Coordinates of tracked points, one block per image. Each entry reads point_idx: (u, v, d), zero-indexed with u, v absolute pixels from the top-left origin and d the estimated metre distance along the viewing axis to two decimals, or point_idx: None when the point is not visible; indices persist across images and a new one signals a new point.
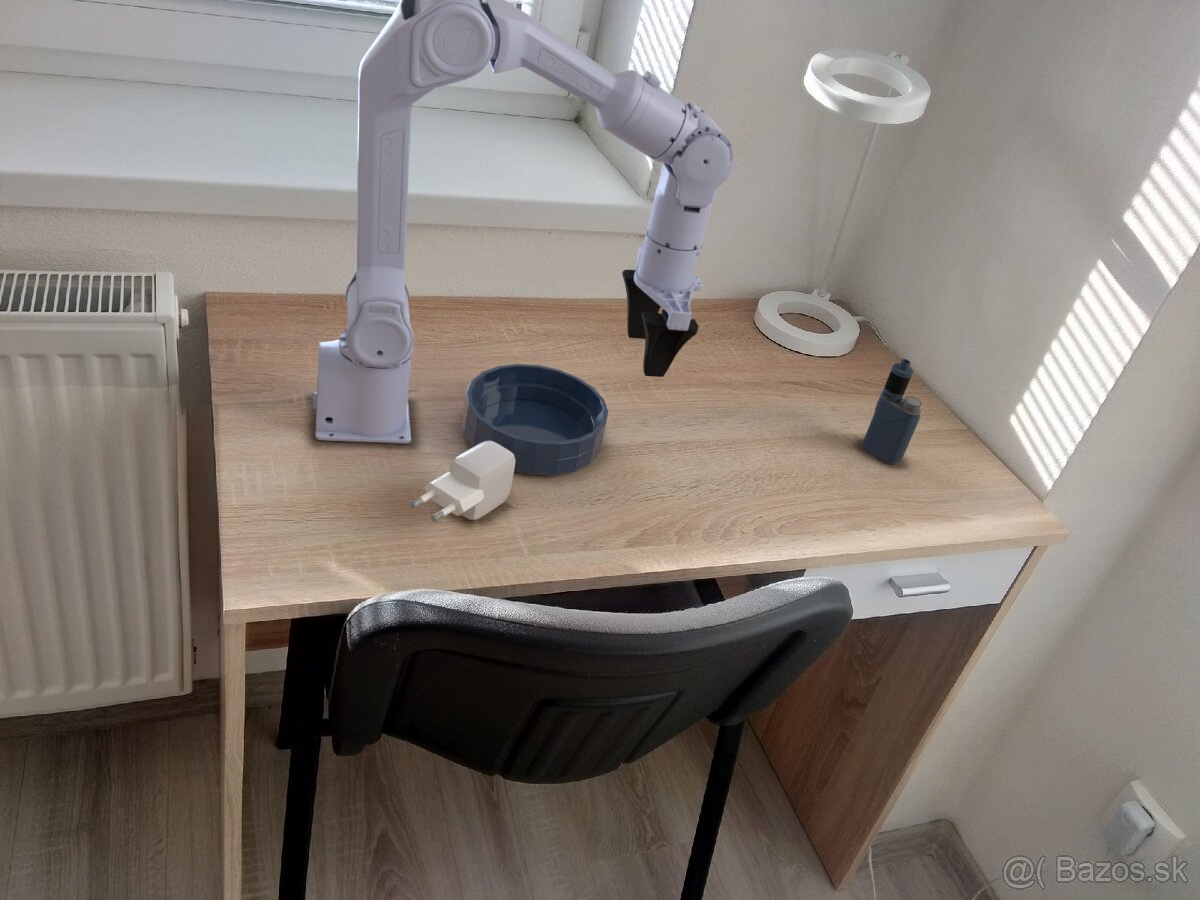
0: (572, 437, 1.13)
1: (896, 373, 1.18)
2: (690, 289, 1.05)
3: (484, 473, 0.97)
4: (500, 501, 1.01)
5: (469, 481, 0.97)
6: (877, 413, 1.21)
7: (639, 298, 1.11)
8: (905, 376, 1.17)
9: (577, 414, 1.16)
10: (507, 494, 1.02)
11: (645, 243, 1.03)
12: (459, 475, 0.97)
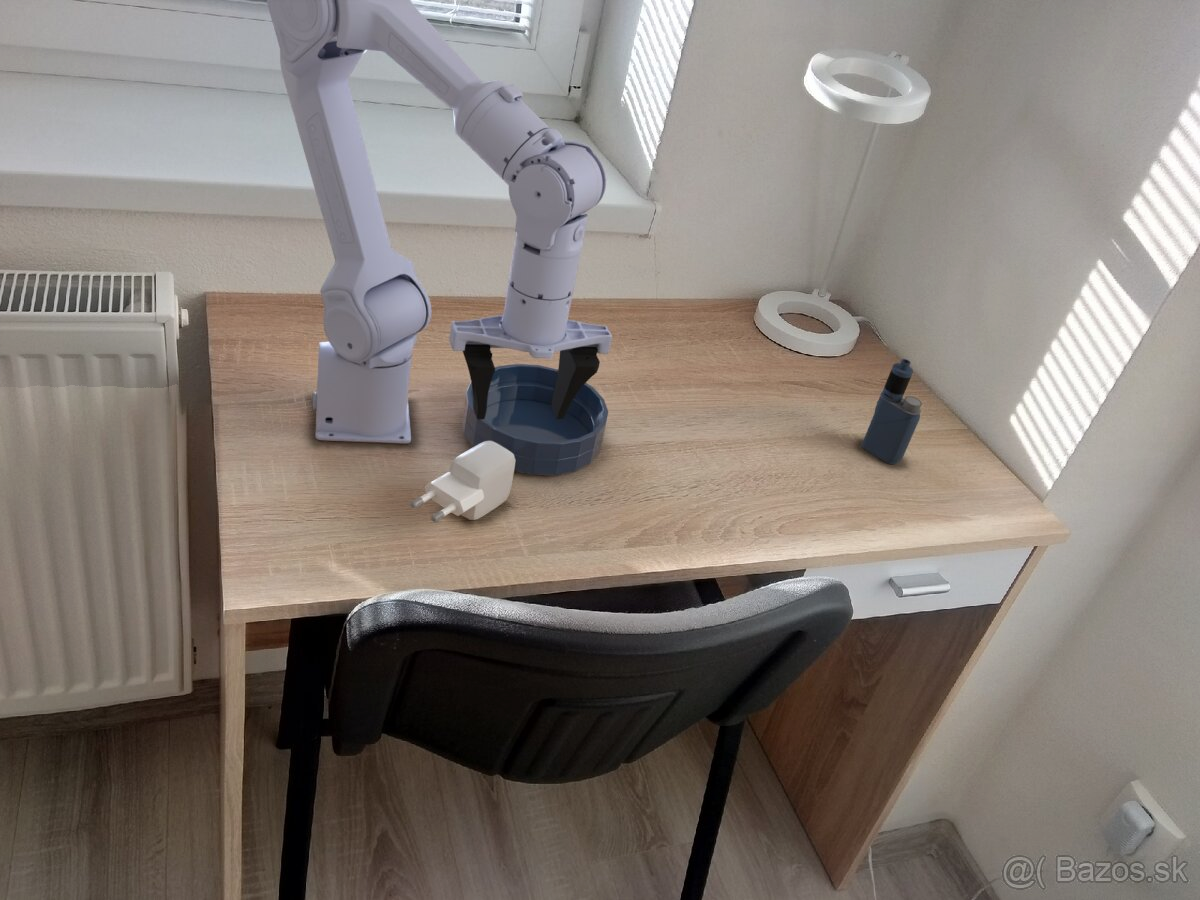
0: (572, 437, 1.13)
1: (896, 373, 1.18)
2: (516, 341, 0.91)
3: (484, 473, 0.97)
4: (500, 501, 1.01)
5: (469, 481, 0.97)
6: (877, 413, 1.21)
7: (562, 366, 0.98)
8: (905, 376, 1.17)
9: (577, 414, 1.16)
10: (507, 494, 1.02)
11: None
12: (459, 475, 0.97)
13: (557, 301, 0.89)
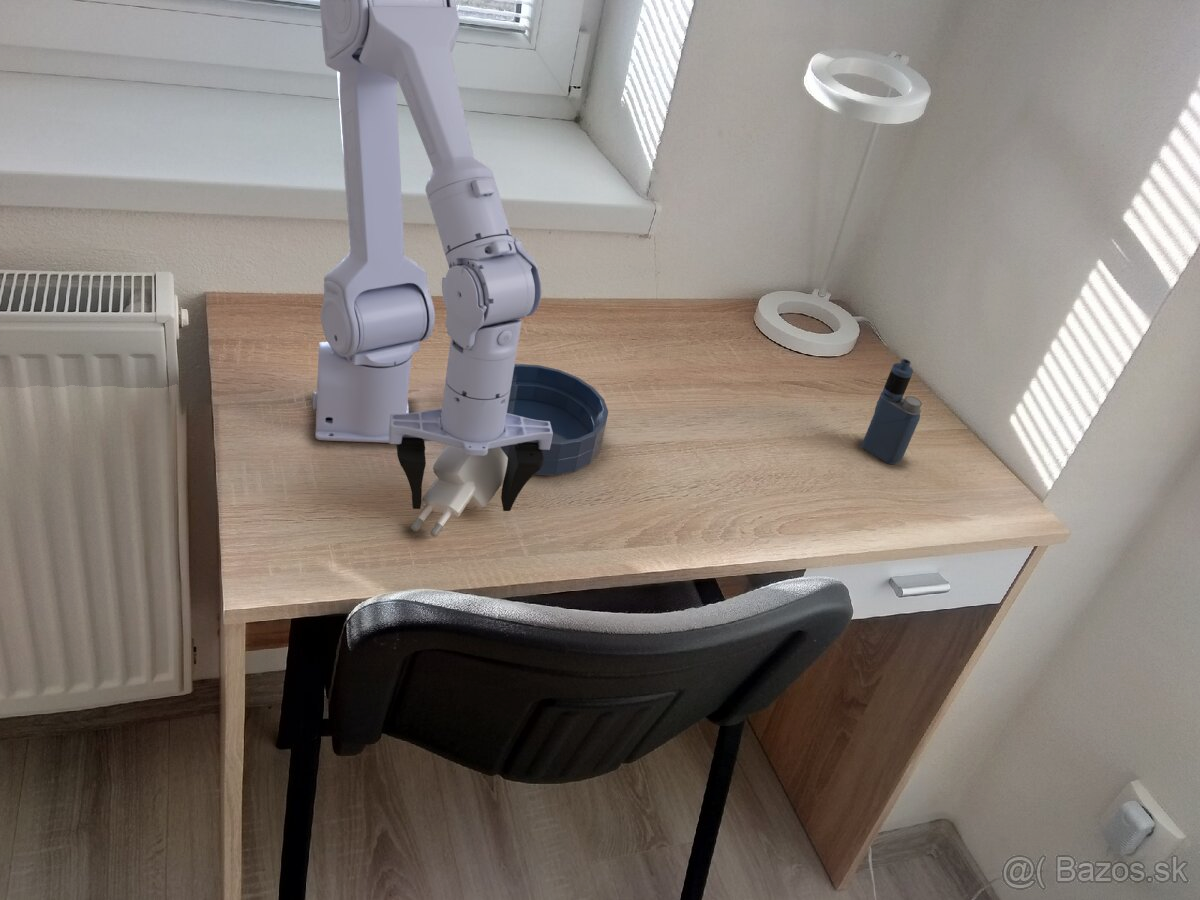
0: (572, 437, 1.13)
1: (896, 373, 1.18)
2: (451, 437, 0.91)
3: (459, 467, 0.96)
4: (503, 475, 1.00)
5: (453, 480, 0.96)
6: (877, 413, 1.21)
7: (510, 459, 0.98)
8: (905, 376, 1.17)
9: (577, 414, 1.16)
10: None
11: None
12: (443, 478, 0.97)
13: (490, 400, 0.89)
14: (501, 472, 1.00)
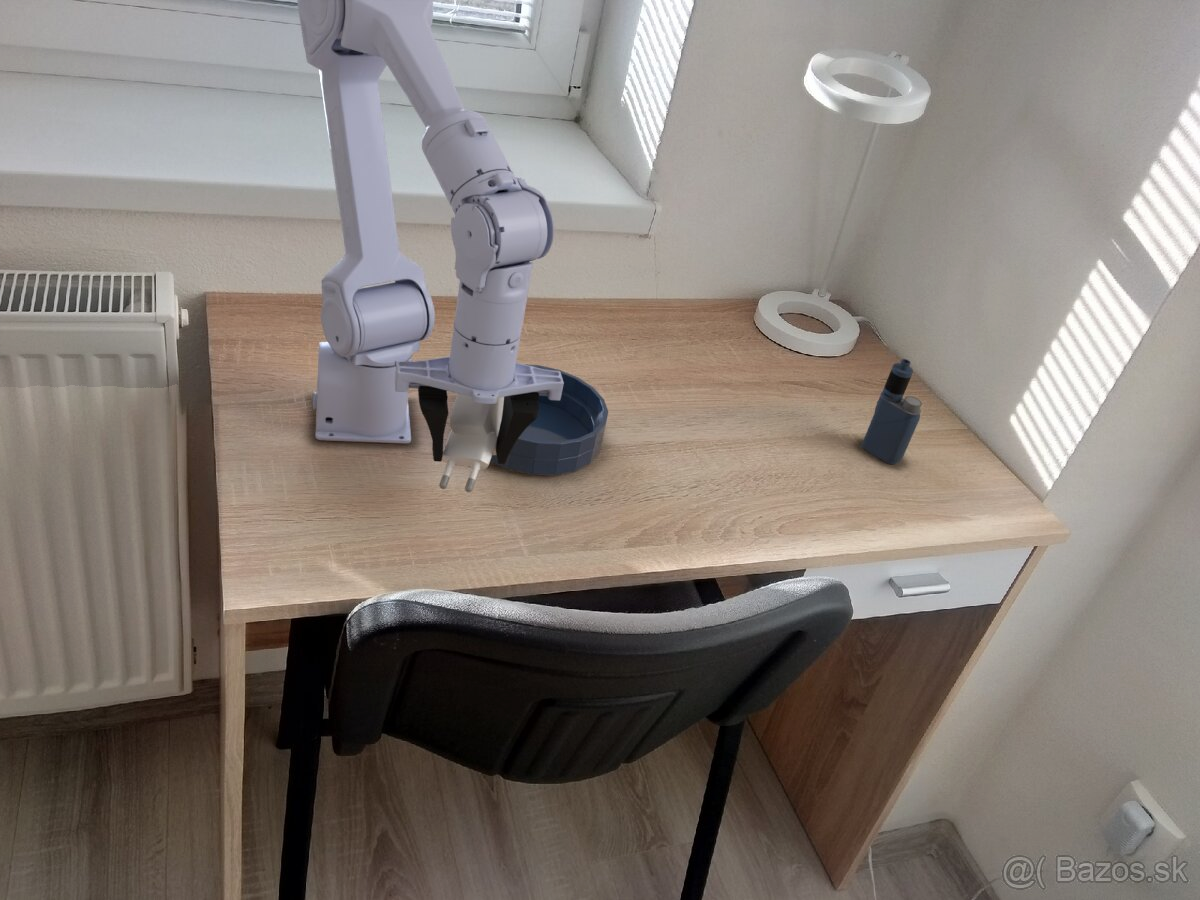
0: (572, 437, 1.13)
1: (896, 373, 1.18)
2: (459, 384, 0.89)
3: (483, 419, 0.95)
4: None
5: (475, 432, 0.95)
6: (877, 413, 1.21)
7: (505, 410, 0.95)
8: (905, 376, 1.17)
9: (577, 414, 1.16)
10: None
11: None
12: (463, 431, 0.96)
13: (500, 346, 0.87)
14: None
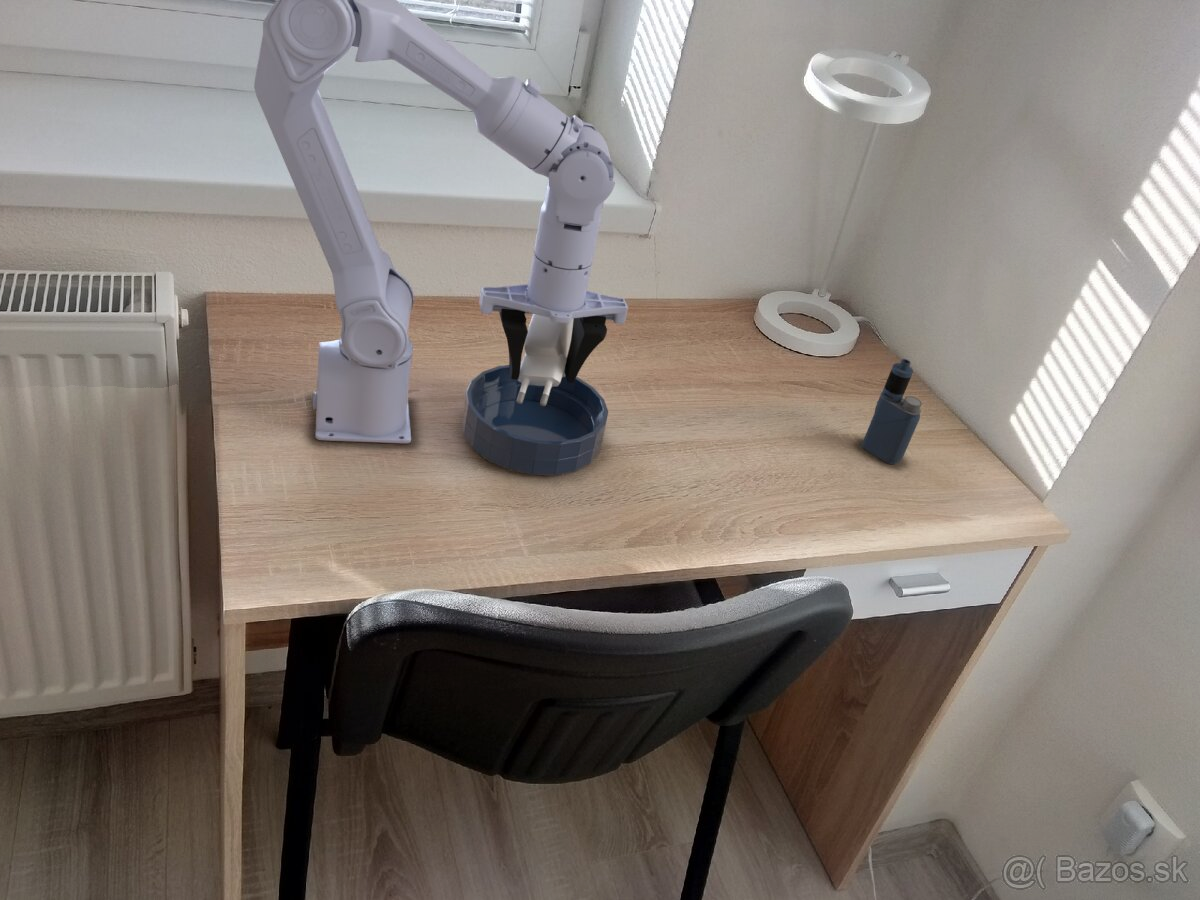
0: (572, 437, 1.13)
1: (896, 373, 1.18)
2: (538, 306, 1.00)
3: (555, 341, 1.06)
4: None
5: (548, 354, 1.07)
6: (877, 413, 1.21)
7: (574, 333, 1.07)
8: (905, 376, 1.17)
9: (577, 414, 1.16)
10: None
11: None
12: (536, 353, 1.07)
13: (576, 271, 0.98)
14: None
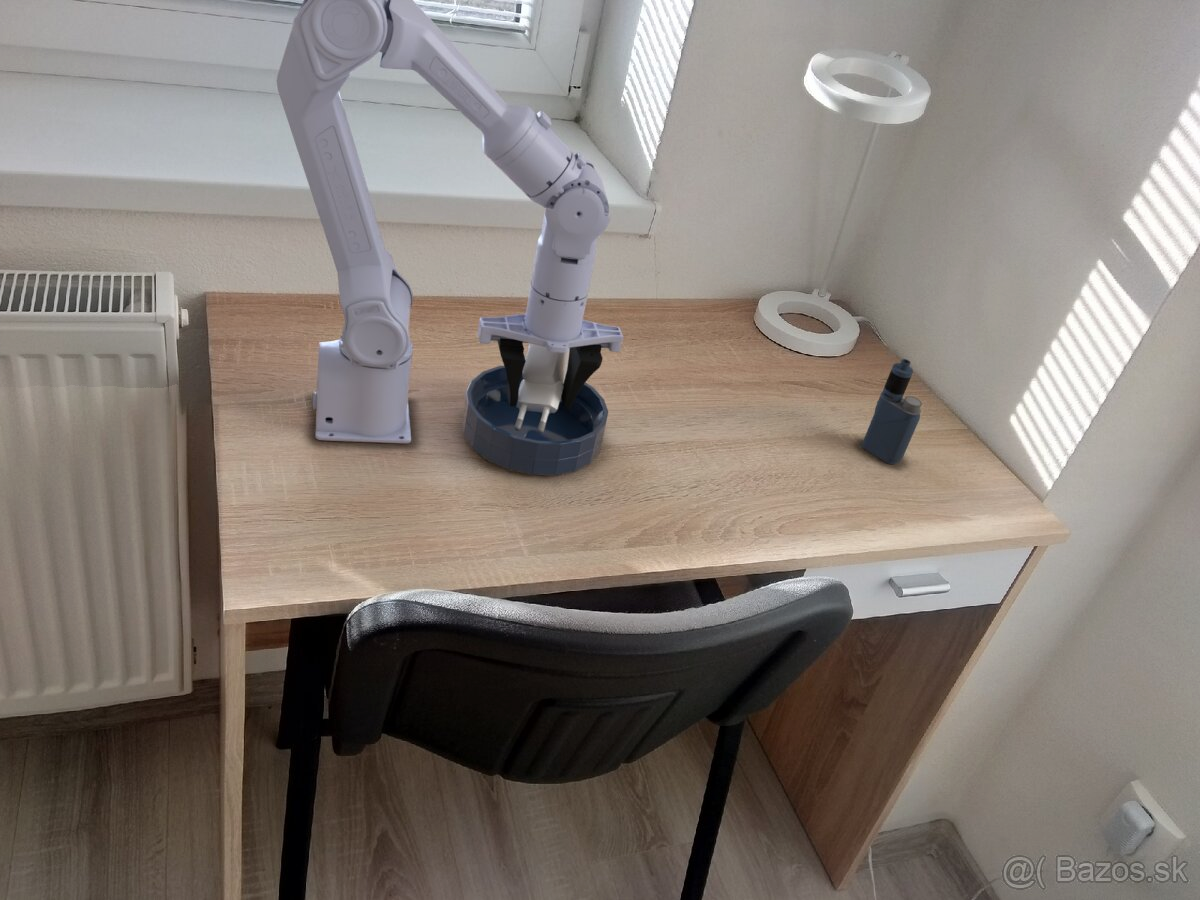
0: (572, 437, 1.13)
1: (896, 373, 1.18)
2: (535, 336, 1.03)
3: (552, 370, 1.09)
4: None
5: (545, 382, 1.09)
6: (877, 413, 1.21)
7: (570, 361, 1.09)
8: (905, 376, 1.17)
9: (577, 414, 1.16)
10: None
11: None
12: (534, 381, 1.10)
13: (572, 302, 1.01)
14: None
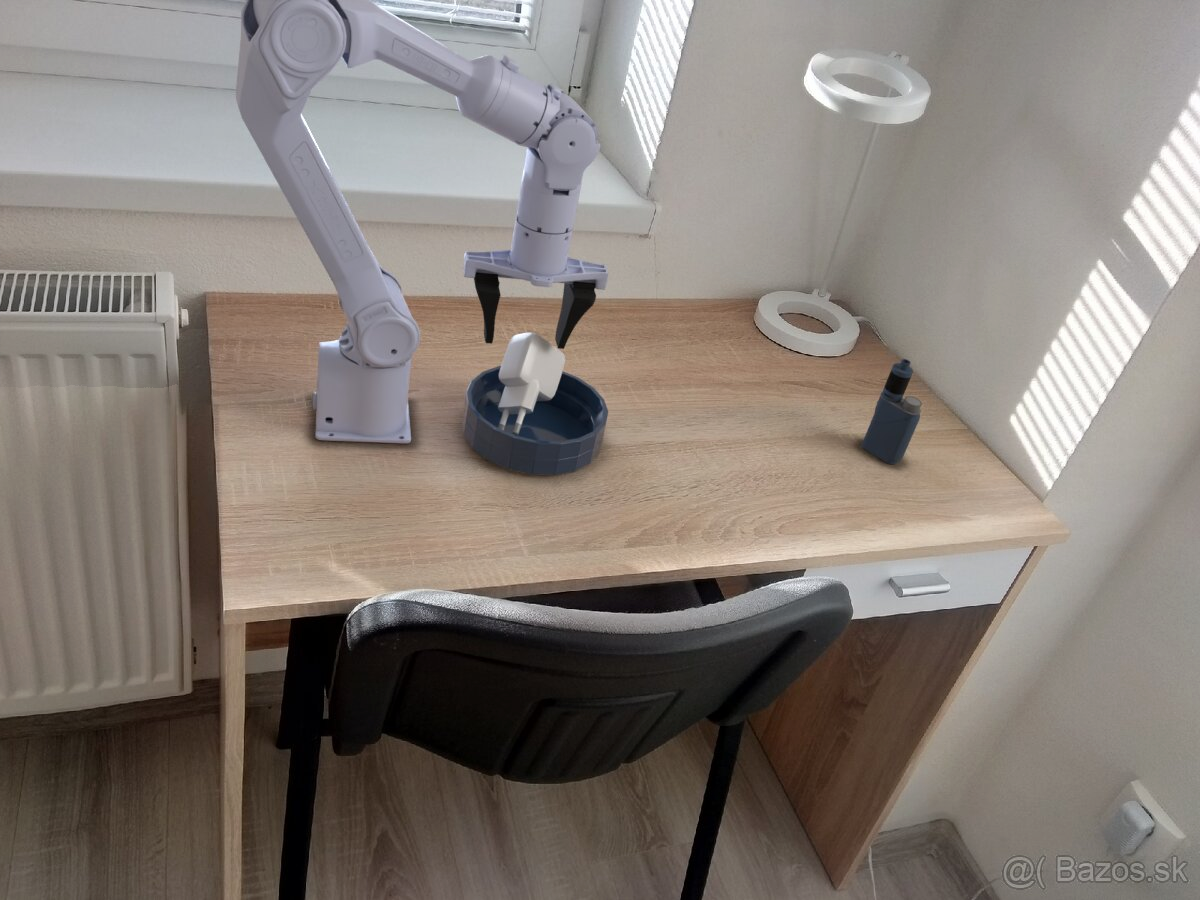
0: (572, 437, 1.13)
1: (896, 373, 1.18)
2: (519, 270, 1.03)
3: (519, 370, 1.09)
4: (560, 366, 1.13)
5: (518, 383, 1.10)
6: (877, 413, 1.21)
7: (564, 300, 1.09)
8: (905, 376, 1.17)
9: (577, 414, 1.16)
10: (560, 356, 1.13)
11: None
12: (510, 384, 1.10)
13: (556, 235, 1.01)
14: (557, 364, 1.12)
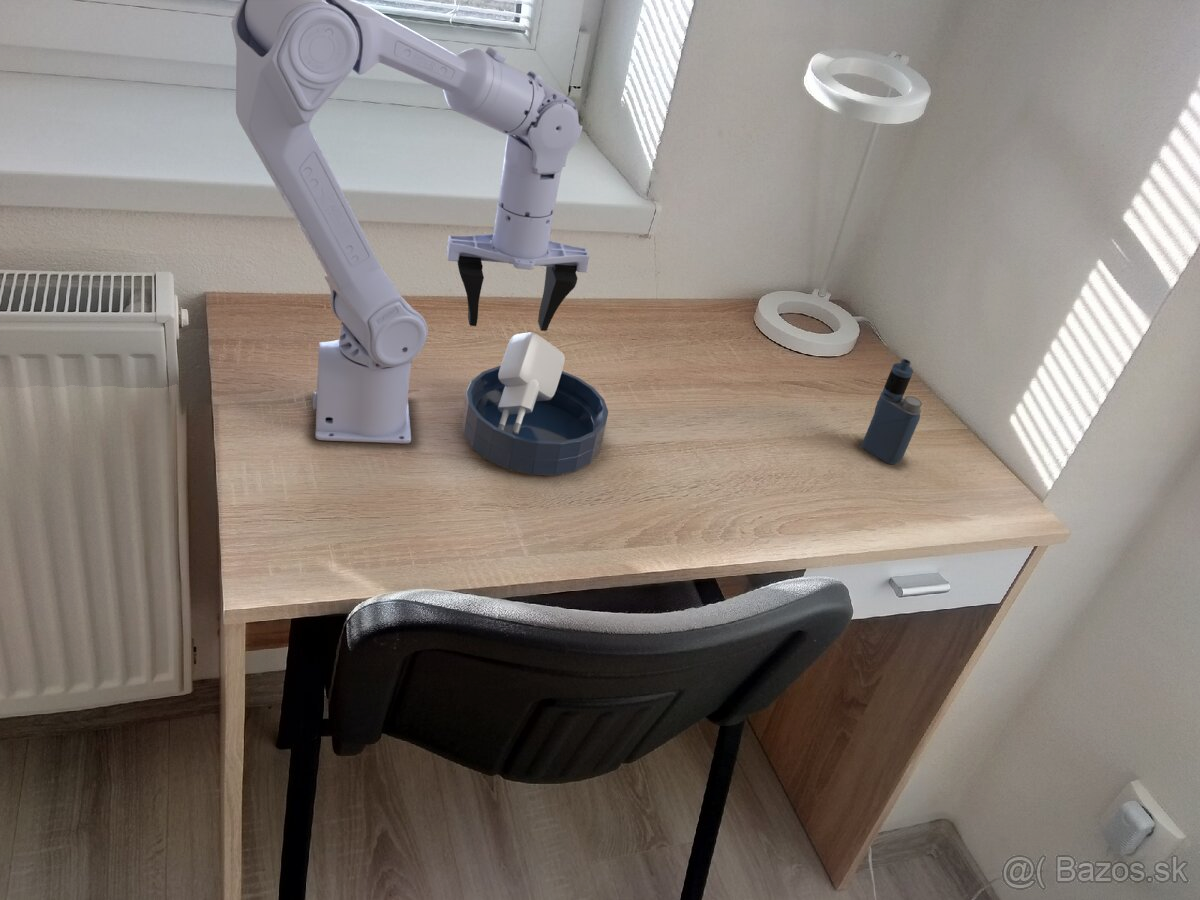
0: (572, 437, 1.13)
1: (896, 373, 1.18)
2: (502, 253, 1.05)
3: (519, 370, 1.09)
4: (559, 366, 1.13)
5: (517, 383, 1.10)
6: (877, 413, 1.21)
7: (547, 283, 1.11)
8: (905, 376, 1.17)
9: (577, 414, 1.16)
10: (560, 356, 1.13)
11: None
12: (510, 384, 1.11)
13: (537, 219, 1.03)
14: (557, 364, 1.12)
